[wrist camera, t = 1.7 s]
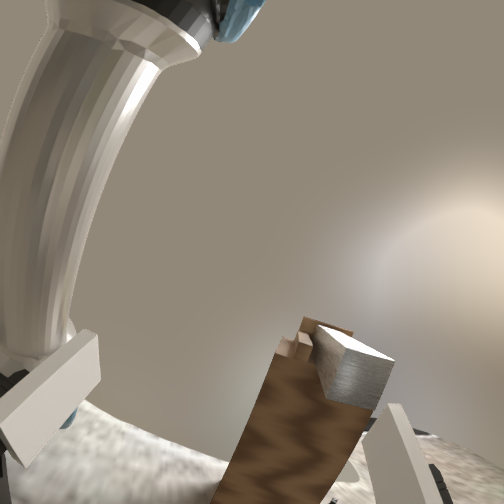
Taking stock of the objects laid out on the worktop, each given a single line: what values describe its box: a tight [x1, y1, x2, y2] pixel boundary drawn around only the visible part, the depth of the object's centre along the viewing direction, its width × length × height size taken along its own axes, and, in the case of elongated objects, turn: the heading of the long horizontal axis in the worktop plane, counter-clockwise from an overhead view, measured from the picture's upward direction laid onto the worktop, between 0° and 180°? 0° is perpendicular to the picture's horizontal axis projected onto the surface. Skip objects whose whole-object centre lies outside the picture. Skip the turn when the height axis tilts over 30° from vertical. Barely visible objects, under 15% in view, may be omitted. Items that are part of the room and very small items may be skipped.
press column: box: [210, 316, 373, 504], centre depth 31 cm, size 12×16×34 cm
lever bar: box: [311, 324, 395, 410], centre depth 27 cm, size 4×25×4 cm, turn 170°
